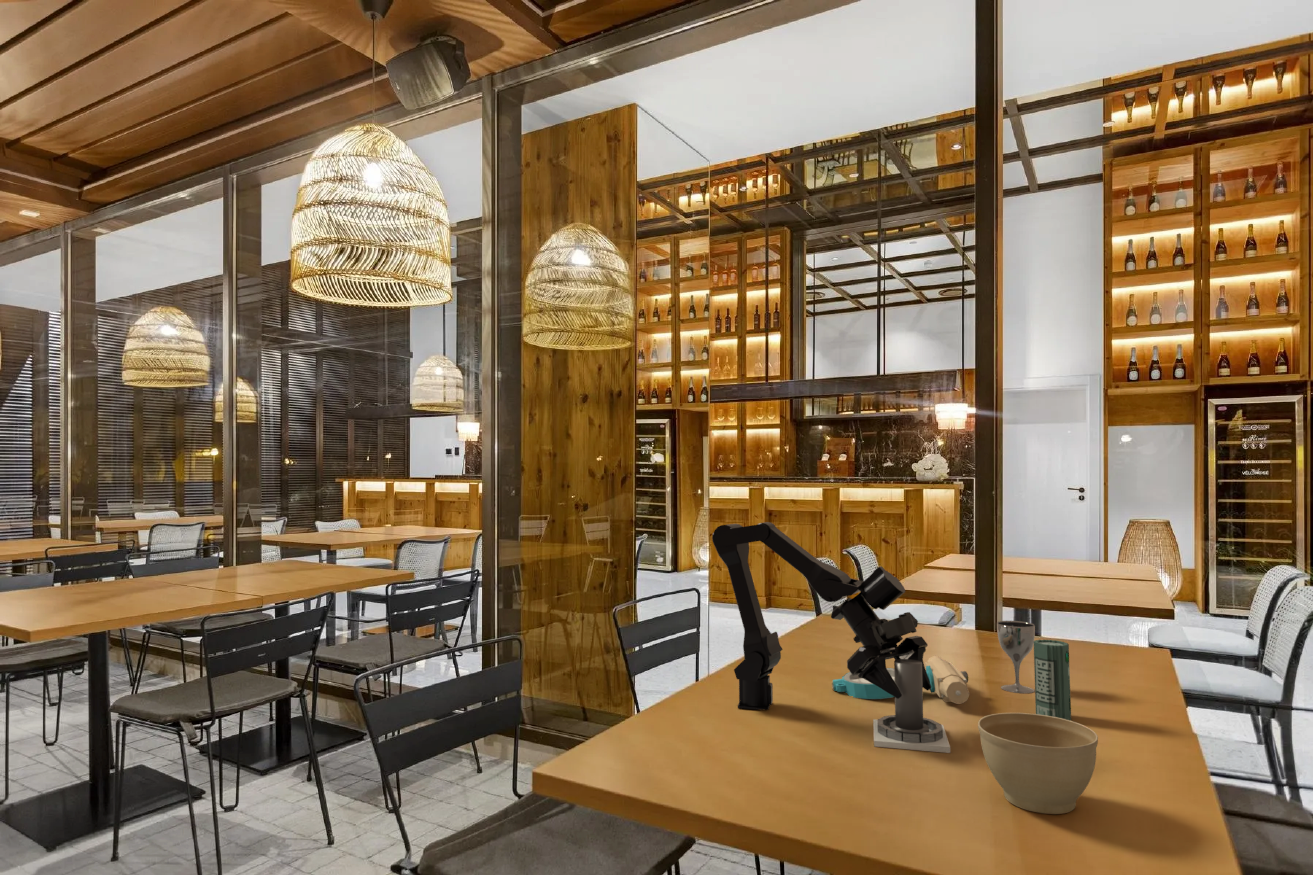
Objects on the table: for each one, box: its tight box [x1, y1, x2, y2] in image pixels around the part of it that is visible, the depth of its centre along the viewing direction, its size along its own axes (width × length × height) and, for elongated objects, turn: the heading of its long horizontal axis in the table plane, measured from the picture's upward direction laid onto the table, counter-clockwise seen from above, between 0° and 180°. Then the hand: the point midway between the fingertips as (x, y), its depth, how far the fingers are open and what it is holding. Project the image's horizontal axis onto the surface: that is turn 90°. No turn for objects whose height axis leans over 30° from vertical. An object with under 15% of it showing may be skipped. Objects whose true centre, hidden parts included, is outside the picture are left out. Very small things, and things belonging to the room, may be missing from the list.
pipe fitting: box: [890, 659, 929, 733], centre depth 143 cm, size 7×7×13 cm
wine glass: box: [996, 620, 1036, 694], centre depth 176 cm, size 8×8×15 cm
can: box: [1033, 639, 1072, 721], centre depth 155 cm, size 6×6×15 cm
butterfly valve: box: [831, 655, 971, 705], centre depth 172 cm, size 27×7×30 cm
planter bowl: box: [977, 712, 1099, 815], centre depth 114 cm, size 16×16×11 cm
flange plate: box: [872, 714, 951, 754], centre depth 142 cm, size 13×13×2 cm
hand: (915, 693), depth 142 cm, fingers open, 9 cm apart
